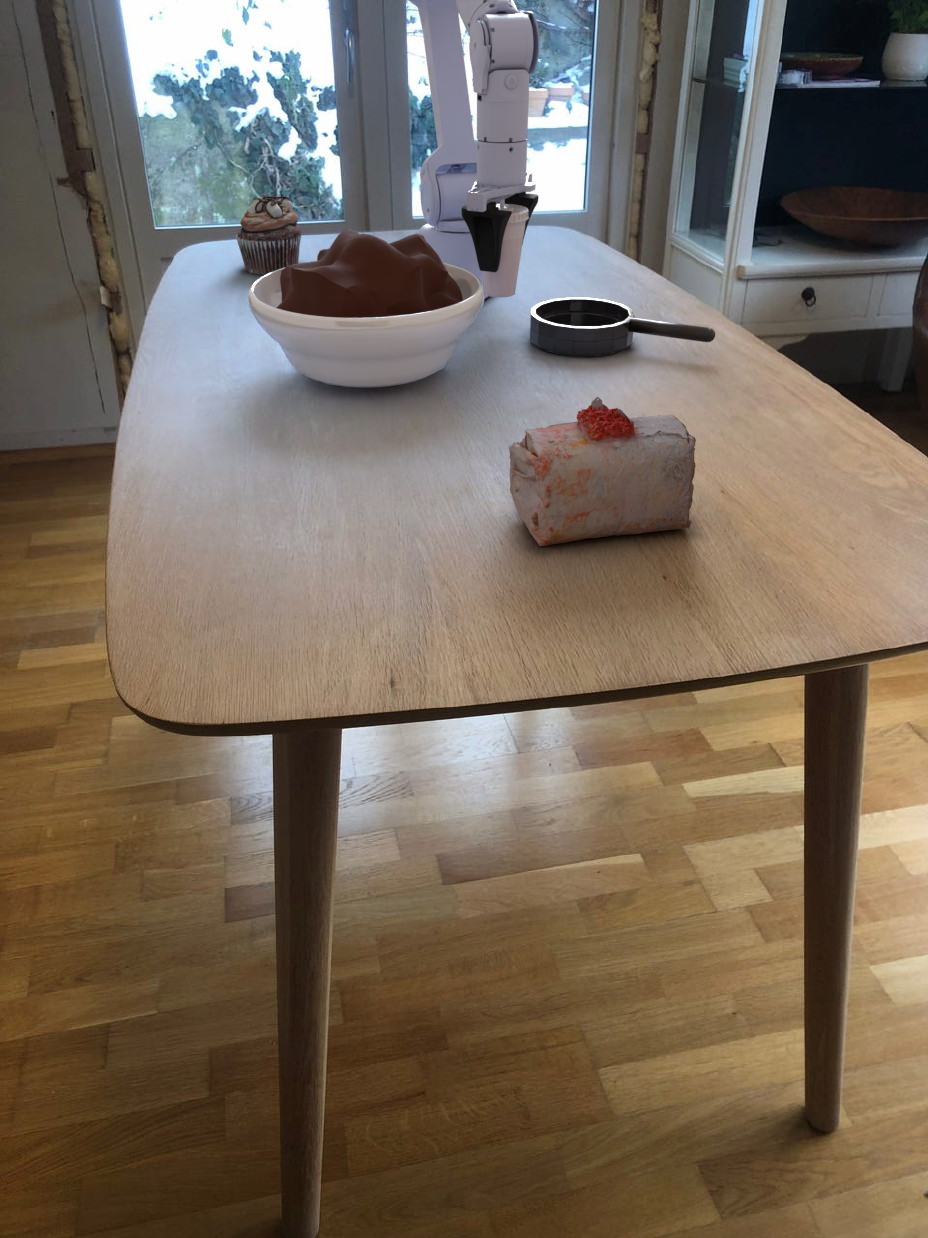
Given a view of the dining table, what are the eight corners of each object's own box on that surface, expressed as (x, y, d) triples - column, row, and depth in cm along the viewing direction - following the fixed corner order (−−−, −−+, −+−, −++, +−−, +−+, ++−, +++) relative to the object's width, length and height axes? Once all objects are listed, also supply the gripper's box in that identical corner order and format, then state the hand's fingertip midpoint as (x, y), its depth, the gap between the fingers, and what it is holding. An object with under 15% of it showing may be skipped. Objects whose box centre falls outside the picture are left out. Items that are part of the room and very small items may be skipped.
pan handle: (622, 332, 111) (623, 318, 111) (626, 328, 113) (627, 315, 112) (712, 344, 108) (714, 330, 107) (715, 340, 109) (717, 326, 108)
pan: (514, 349, 113) (515, 319, 111) (550, 320, 122) (552, 292, 120) (613, 364, 108) (616, 333, 106) (643, 333, 117) (646, 304, 116)
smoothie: (527, 286, 119) (531, 164, 111) (524, 301, 114) (529, 173, 106) (476, 285, 120) (477, 163, 112) (471, 299, 114) (472, 172, 107)
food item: (528, 557, 73) (533, 436, 67) (503, 509, 79) (505, 395, 74) (695, 538, 75) (714, 420, 69) (657, 493, 81) (671, 382, 76)
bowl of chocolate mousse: (212, 374, 106) (190, 230, 97) (377, 323, 121) (371, 195, 112) (363, 435, 92) (353, 273, 83) (529, 370, 107) (535, 227, 98)
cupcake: (251, 258, 148) (243, 189, 142) (312, 261, 147) (306, 191, 141) (230, 275, 140) (220, 202, 135) (294, 277, 139) (287, 203, 133)
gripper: (509, 150, 100) (506, 282, 108) (557, 133, 111) (551, 254, 119) (449, 146, 103) (450, 275, 111) (502, 129, 114) (500, 248, 121)
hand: (499, 264), depth 115 cm, fingers closed on smoothie, 6 cm apart
